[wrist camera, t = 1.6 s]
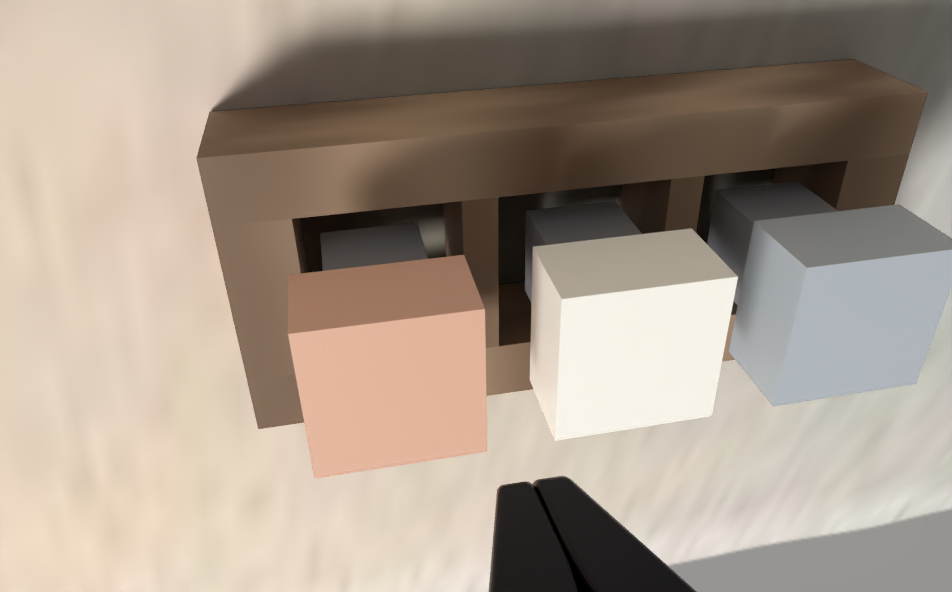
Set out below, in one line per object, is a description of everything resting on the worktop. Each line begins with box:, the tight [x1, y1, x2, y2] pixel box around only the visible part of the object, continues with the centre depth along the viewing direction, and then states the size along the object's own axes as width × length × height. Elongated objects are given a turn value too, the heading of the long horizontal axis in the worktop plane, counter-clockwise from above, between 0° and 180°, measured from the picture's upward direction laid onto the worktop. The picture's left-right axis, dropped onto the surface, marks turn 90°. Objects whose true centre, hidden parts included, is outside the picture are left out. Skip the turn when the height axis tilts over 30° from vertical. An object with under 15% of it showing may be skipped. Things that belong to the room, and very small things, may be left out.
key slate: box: [707, 181, 952, 406], centre depth 18 cm, size 3×3×5 cm
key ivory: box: [525, 201, 738, 441], centre depth 17 cm, size 3×3×5 cm
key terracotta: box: [288, 222, 487, 478], centre depth 16 cm, size 3×3×5 cm
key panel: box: [197, 59, 928, 429], centre depth 19 cm, size 16×7×3 cm, turn 90°
